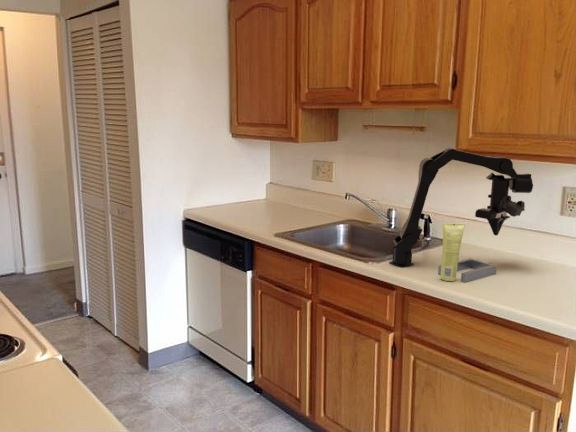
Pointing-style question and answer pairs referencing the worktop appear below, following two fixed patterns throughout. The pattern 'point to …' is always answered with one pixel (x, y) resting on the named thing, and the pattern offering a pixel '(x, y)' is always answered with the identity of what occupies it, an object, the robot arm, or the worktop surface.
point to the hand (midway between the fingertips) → (495, 235)
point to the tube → (451, 249)
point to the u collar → (479, 269)
